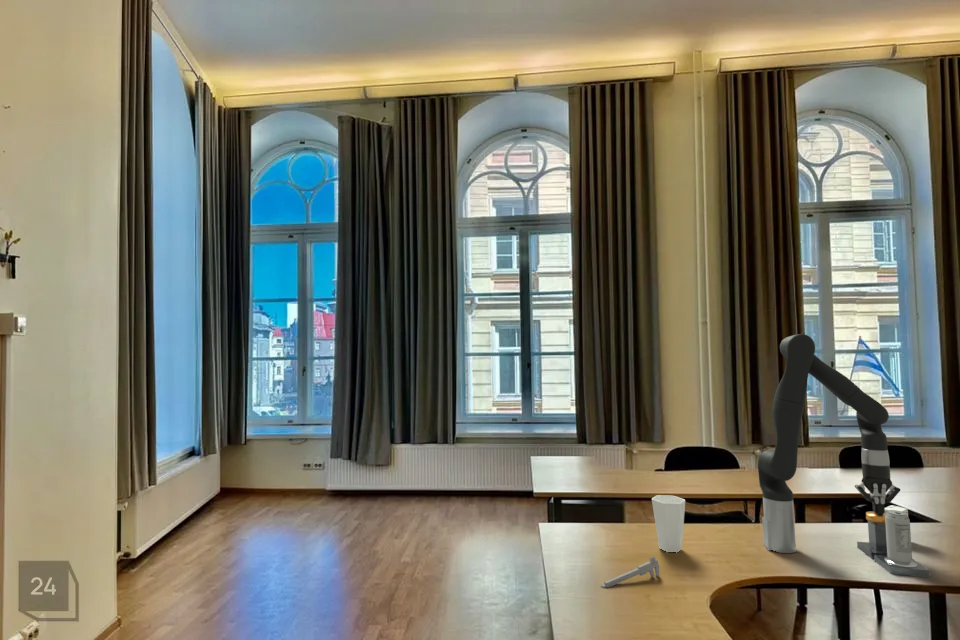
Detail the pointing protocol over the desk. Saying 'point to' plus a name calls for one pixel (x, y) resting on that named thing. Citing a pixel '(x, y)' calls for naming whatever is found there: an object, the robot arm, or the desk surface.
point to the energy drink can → (898, 537)
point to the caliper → (635, 572)
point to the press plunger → (875, 518)
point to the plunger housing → (874, 541)
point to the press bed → (901, 567)
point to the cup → (669, 521)
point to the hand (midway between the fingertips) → (878, 514)
